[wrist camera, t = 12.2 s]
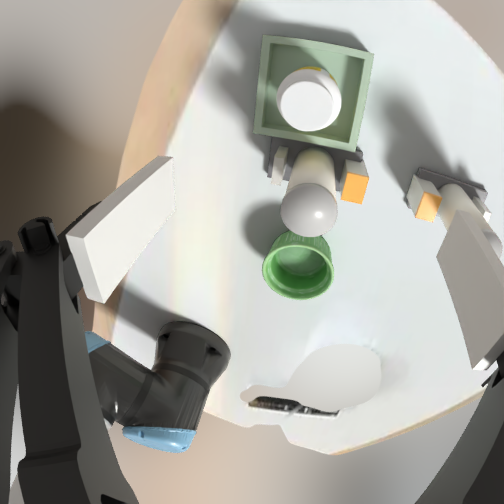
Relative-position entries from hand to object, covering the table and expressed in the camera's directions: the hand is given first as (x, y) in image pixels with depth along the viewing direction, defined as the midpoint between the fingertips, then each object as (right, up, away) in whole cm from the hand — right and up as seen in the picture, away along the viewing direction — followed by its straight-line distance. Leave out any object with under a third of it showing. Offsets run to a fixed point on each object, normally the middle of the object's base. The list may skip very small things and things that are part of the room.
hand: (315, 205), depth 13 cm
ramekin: (+4, -2, +29) cm, 29 cm away
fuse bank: (+13, +6, +19) cm, 24 cm away
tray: (+4, +15, +15) cm, 22 cm away
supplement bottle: (+3, +14, +15) cm, 21 cm away
